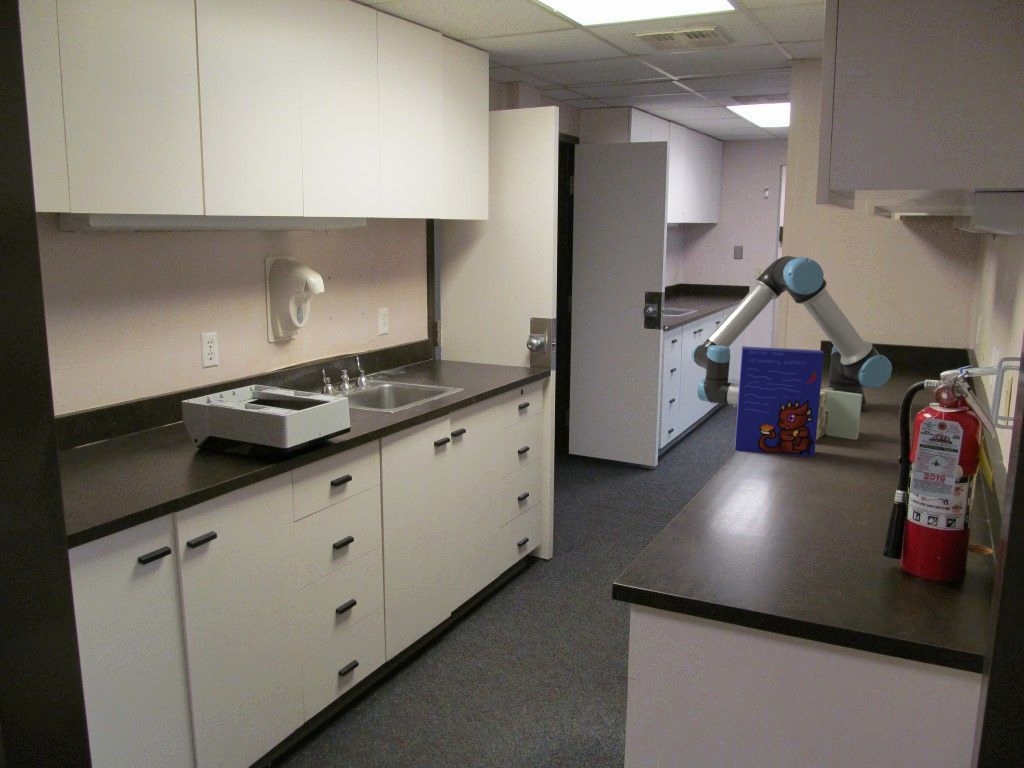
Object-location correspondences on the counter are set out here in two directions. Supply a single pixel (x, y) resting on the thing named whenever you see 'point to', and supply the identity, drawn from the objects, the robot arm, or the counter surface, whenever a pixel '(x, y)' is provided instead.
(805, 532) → the counter surface
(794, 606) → the counter surface
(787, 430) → the cereal box
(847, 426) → the sage board
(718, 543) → the counter surface
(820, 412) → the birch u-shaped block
